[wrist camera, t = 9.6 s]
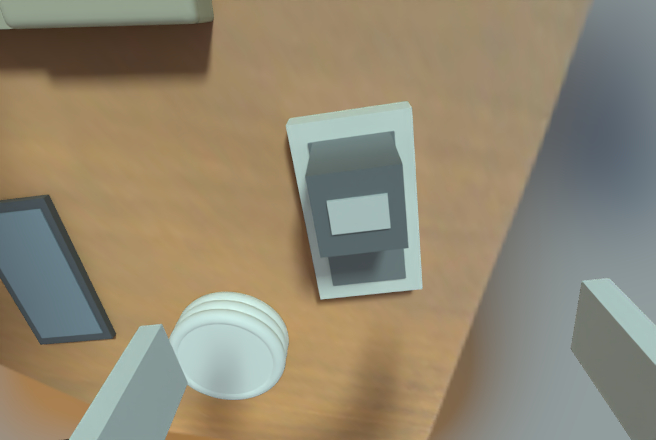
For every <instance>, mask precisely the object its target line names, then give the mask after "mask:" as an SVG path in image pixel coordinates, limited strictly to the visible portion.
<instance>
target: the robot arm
mask: <svg viewBox="0 0 656 440" xmlns="http://www.w3.org/2000/svg"><path fill="white" fill-rule="evenodd" d="M571 350H572V352H573V353H574V355H575V356H576V358H577V359H578V361H579V362H580V364H581V365H582V366H583V368H584V369H585V371H586V372H587V374H588V376H589V377H590V378H591V380H592V381H593V383H594V384H595V386H596V387H597V389H598V390H599V392H600V393H601V395H602V396H603V398H604V399H605V401H606V402H607V404H608V405H609V407H610V408H611V410H612V411H613V413H614V414H615V416H616V417H617V419H618V420H619V422H620V423H621V425H622V426H623V428H624V429H625V431H626V432H627V434H628V435H629V437H630V438H631V440H656V325H655V324H654V323H653V322H652V321H651V320H650V319H649V318H648V317H647V316H646V315H645V314H644V313H643V312H642V311H641V310H640V309H639V308H638V307H637V306H636V305H635V304H634V303H633V302H632V301H631V300H630V299H629V298H628V297H627V296H626V295H625V294H624V293H623V292H622V291H621V290H620V289H619V288H618V287H617V286H616V285H615V284H614V283H613V282H612V281H611V280H610V279H609V278H606V279H596V280H586V281H582V283H581V289H580V295H579V301H578V308H577V314H576V320H575V326H574V332H573V338H572V344H571ZM187 383H188V382H187V380H186V377H185V375H184V373H183V371H182V368H181V366H180V364H179V361H178V359H177V357H176V355H175V352H174V350H173V348H172V346H171V343H170V341H169V339H168V337H167V334H166V332H165V330H164V328H163V325H162V324H157V325H147V326H140V327H139V328H138V330H137V332H136V333H135V335H134V336H133V338H132V340H131V341H130V343H129V344H128V346H127V348H126V349H125V351H124V352H123V354H122V356H121V357H120V359H119V360H118V362H117V364H116V365H115V367H114V368H113V370H112V372H111V373H110V375H109V376H108V378H107V380H106V381H105V383H104V384H103V386H102V388H101V389H100V391H99V392H98V394H97V396H96V397H95V399H94V400H93V402H92V404H91V405H90V407H89V408H88V410H87V412H86V413H85V415H84V417H83V418H82V420H81V421H80V423H79V424H78V426H77V428H76V429H75V431H74V432H73V434H72V436H71V437H70V439H66V440H165V438H166V435H167V433H168V430H169V428H170V426H171V423H172V421H173V418H174V416H175V413H176V411H177V408H178V406H179V403H180V401H181V398H182V396H183V393H184V391H185V388H186V386H187Z"/></svg>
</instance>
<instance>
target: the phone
mask: <svg viewBox="0 0 656 440" xmlns="http://www.w3.org/2000/svg"><path fill="white" fill-rule="evenodd" d="M0 278H1V280H2V282H3V283H4V285H5V287H6V288H7V290H8V292H9V293H10V295H11V296H12V298H13V300H14V301H15V303H16V305H17V306H18V308H19V310H20V311H21V313H22V315H23V316H24V318H25V320H26V321H27V323H28V325H29V326H30V328H31V330H32V331H33V333H34V334H35V336H36V338H37V339H38V341H39V343H40V344H53V343H65V342H76V341H88V340H100V339H112V338H113V337H114V336H115V334H116V333H115V330H114V328H113V326H112V324H111V322H110V320H109V318H108V316H107V314H106V312H105V310H104V308H103V306H102V304H101V301H100V299H99V297H98V295H97V293H96V291H95V289H94V287H93V285H92V283H91V281H90V279H89V277H88V275H87V272H86V270H85V268H84V266H83V264H82V262H81V260H80V258H79V256H78V254H77V252H76V250H75V248H74V246H73V243H72V241H71V239H70V237H69V235H68V233H67V231H66V229H65V227H64V225H63V223H62V221H61V219H60V217H59V214H58V212H57V210H56V208H55V206H54V204H53V202H52V200H51V198H50V196H49V195H41V196H33V197H24V198H16V199H7V200H0Z"/></svg>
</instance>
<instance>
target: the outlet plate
mask: <svg viewBox="0 0 656 440" xmlns="http://www.w3.org/2000/svg"><path fill="white" fill-rule="evenodd" d="M286 129H287V134H288V139H289V144H290V149H291V154H292V159H293V164H294V169H295V174H296V179H297V184H298V189H299V194H300V199H301V204H302V209H303V214H304V219H305V224H306V229H307V234H308V239H309V244H310V249H311V254H312V259H313V264H314V269H315V274H316V279H317V284H318V289H319V294H320V299H330V298H339V297H349V296H359V295H368V294H378V293H388V292H398V291H407V290H417V289H422V273H421V256H420V239H419V222H418V204H417V187H416V170H415V153H414V136H413V119H412V107H411V106H410V104H409V103H408V101H404V102H397V103H391V104H384V105H377V106H370V107H363V108H357V109H350V110H343V111H336V112H329V113H323V114H316V115H309V116H302V117H295V118H289V120H288V122H287V124H286ZM387 132H390V133H391V136H392V138H393V141H394V143H395V146H396V148H397V151H398V153H399V156H400V158H401V161H402V164H403V177H404V190H405V204H406V218H407V232H408V246H409V248H405V249H396V250H387V251H378V252H369V253H360V254H351V255H342V256H333V257H324V258H320V253H319V248H318V242H317V237H316V232H315V227H314V221H313V216H312V211H311V205H310V200H309V195H308V189H307V184H306V179H305V175H306V170H307V166H308V161H309V157H310V152H311V148H312V143H315V142H322V141H329V140H337V139H344V138H351V137H358V136H365V135H372V134H380V133H387Z"/></svg>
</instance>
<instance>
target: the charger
mask: <svg viewBox="0 0 656 440" xmlns="http://www.w3.org/2000/svg"><path fill="white" fill-rule="evenodd" d="M305 179H306V184H307V189H308V195H309V200H310V205H311V211H312V216H313V221H314V227H315V232H316V237H317V242H318V248H319V253H320V258H324V257H333V256H342V255H351V254H360V253H369V252H378V251H387V250H396V249H405V248H409V246H408V232H407V218H406V204H405V190H404V177H403V164H402V161H401V158H400V156H399V153H398V151H397V148H396V146H395V143H394V141H393V138H392V136H391V133H390V132H387V133H380V134H372V135H365V136H358V137H351V138H344V139H337V140H329V141H322V142H315V143H312V148H311V152H310V157H309V161H308V166H307V170H306V175H305Z"/></svg>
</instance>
